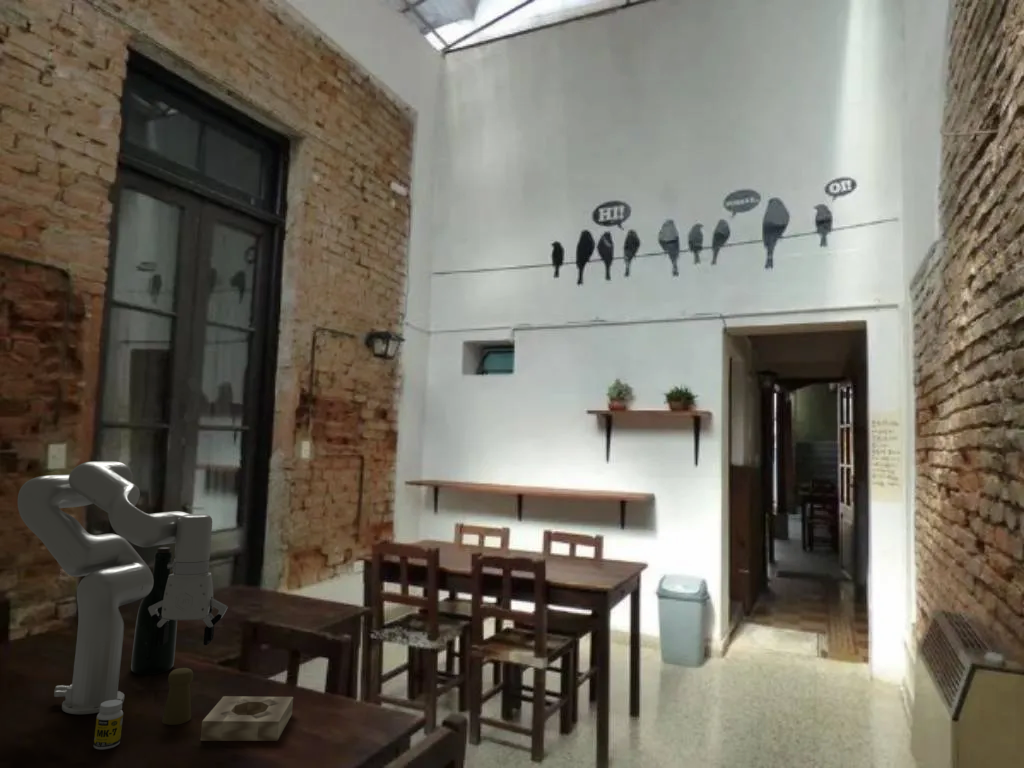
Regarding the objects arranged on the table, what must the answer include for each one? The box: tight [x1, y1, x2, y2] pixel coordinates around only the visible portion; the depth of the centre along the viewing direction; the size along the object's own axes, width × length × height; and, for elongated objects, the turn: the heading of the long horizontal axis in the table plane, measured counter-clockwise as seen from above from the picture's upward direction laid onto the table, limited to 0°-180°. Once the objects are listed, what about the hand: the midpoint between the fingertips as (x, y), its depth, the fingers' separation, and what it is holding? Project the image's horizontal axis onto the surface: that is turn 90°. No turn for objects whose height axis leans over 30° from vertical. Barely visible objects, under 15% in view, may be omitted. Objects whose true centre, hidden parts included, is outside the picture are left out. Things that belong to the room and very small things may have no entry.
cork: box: [161, 667, 194, 726], centre depth 151 cm, size 6×6×11 cm
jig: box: [199, 695, 294, 742], centre depth 148 cm, size 16×14×4 cm
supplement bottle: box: [93, 700, 124, 751], centre depth 137 cm, size 5×5×8 cm
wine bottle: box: [130, 546, 178, 676], centre depth 183 cm, size 10×10×33 cm
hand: (185, 643), depth 152 cm, fingers open, 9 cm apart
